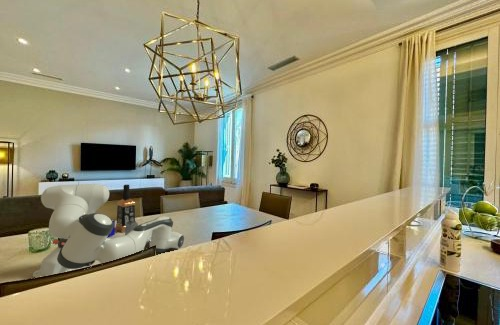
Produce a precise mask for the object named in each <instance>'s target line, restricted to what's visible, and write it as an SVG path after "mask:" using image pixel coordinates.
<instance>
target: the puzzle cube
mask: <svg viewBox="0 0 500 325" xmlns="http://www.w3.org/2000/svg"><path fill="white" fill-rule="evenodd" d="M112 221H113V223H114V227H113V229H112V231H111V233H110V234H109V235H108V237H107V238H110V237H111V238H112V237H113V236H115V234H116V221H115V219H112Z"/></svg>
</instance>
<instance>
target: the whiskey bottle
mask: <svg viewBox="0 0 500 325" xmlns="http://www.w3.org/2000/svg"><path fill="white" fill-rule="evenodd" d="M122 190H123V192H122V199H120V200H119V201H116V205H117V206H116V223H115V231H118V232H119V233H125V224H126V223H127V222H129V221H136V203H137V202H136V201H135V200H133V199H132V198H130V197H131V192H130V184H124V185H123V188H122Z"/></svg>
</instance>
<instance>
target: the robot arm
mask: <svg viewBox="0 0 500 325" xmlns="http://www.w3.org/2000/svg"><path fill="white" fill-rule="evenodd" d="M109 198H110V190H109V189H108V187H107V186H106V185H104V184H98V183H97V184H96V183H83V184H63V185H61V184H59V185H54V186H49V187H47V188H45V189H44V191H43V192H42V193H41V195H40V201H41V204H42V205H43V206H44V207H45V208H46V209H51V210H53V212H52V214H51V215H50V216H51V217H50V218H49V222H48V230H49V231H48V232H49V233H50V234H51V236H53V237H54V238H56V239H54V240H52V244H53V245H57V247H55V249H53V250H52V251H51V252H50V253H49V254H47V255H46V256H45V257H44V258H43V259H42V261H41V262H40V268H39V269H37V270H35V271H34V272H33V273H32V274H33V275H32V277H33V278H34V277H40V276H46V275H51V274H57V273H61V272H67V271H71V270H75V269H80V268H84V267H88V266H91V267H92V266H93V265H94V263H95V262H96V261H98V262H99V263H100V264H101V263H105V262H109V261H113V260H116V259H119V258H122V257H125V256H128V255H131V254H134V253H136V252H139V251H141V250H143V251H144V249H145V247H146V245H147V244H149V248H150V247H152V246H154V245H156V252H157V253H165V252H167V251H169V250H170V249H181V248H182V247H183V245H184V241H185V236H184V235H183V234H182V233H180V232H177V231H172V229H173V225H174V221H173V219H172V218H171V217H169V216H164V215H163V216H158V217H157V218H154V219H152V220H149V221H146V222H144V223H140V224H138V226H136V227H135V228H134V229H133V230H132V231H131V232H130V233H128V234H127V235H125V234H124V235H120V236H117V237H116V236H115V237H112V238H110V237H108V235H109V234H110V233H111V231H112V229H113V227H114V223H113V221H112V220H113V219H112V218H111V217H110V216H108V215H107V214H104V213H100V212H97V210H98V209H99V208H101V206H103V205H104V204H106V203H107V201H108V200H109ZM114 228H115V227H114ZM107 237H108V238H107ZM156 252H155V253H156Z"/></svg>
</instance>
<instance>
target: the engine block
mask: <svg viewBox="0 0 500 325" xmlns="http://www.w3.org/2000/svg"><path fill="white" fill-rule="evenodd" d="M138 225H139V223H138V222H137V221H136V220H135V221H129V222H127V223H126V224H125V232H124V233H125V234H124V236H125V235H127V234H128V233H130V232H131V231H132V230H133V229H134V228H135V227H136V226H138Z"/></svg>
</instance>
